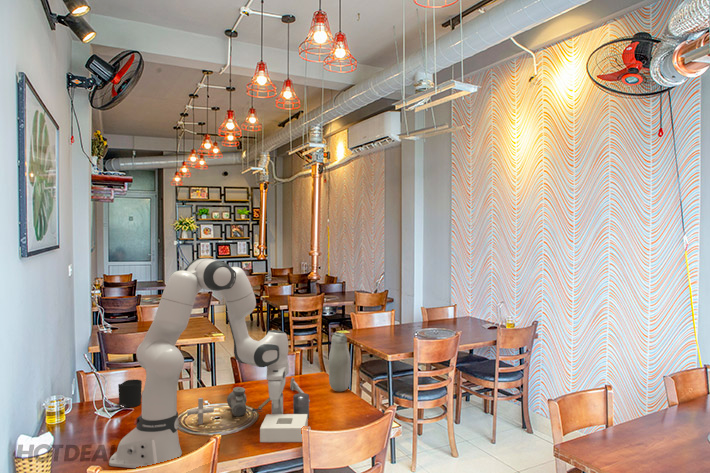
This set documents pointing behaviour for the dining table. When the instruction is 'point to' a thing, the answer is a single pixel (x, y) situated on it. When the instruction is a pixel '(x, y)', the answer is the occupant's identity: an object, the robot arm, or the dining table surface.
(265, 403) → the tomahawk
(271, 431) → the bore block
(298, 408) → the round pin
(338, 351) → the grey bottle
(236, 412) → the pipe fitting
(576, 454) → the dining table surface
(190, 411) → the pipe connector
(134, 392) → the pen holder
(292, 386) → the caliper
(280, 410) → the square bar
